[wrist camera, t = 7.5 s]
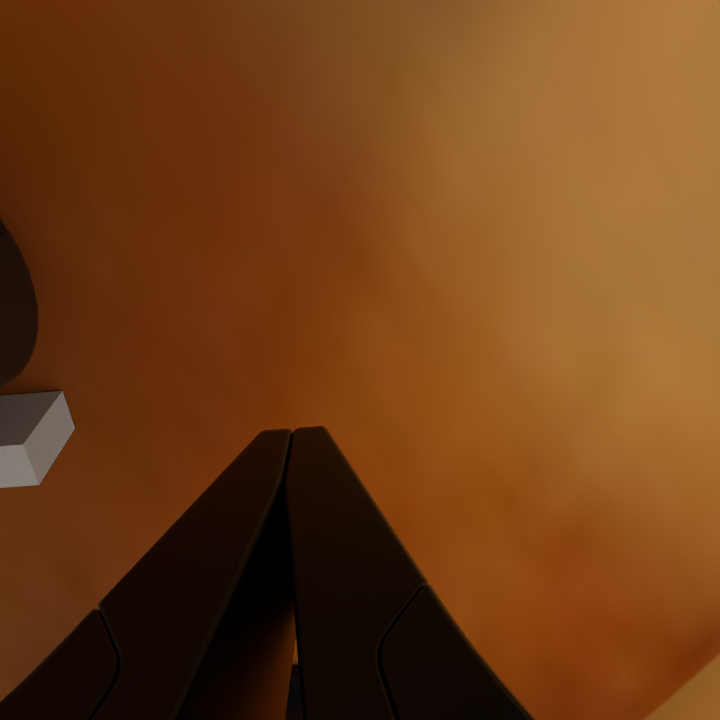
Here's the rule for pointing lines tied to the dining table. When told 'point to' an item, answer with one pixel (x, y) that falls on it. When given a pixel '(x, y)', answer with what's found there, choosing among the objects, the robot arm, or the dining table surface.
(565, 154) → the dining table surface
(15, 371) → the end cap
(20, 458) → the grey u-shaped frame
